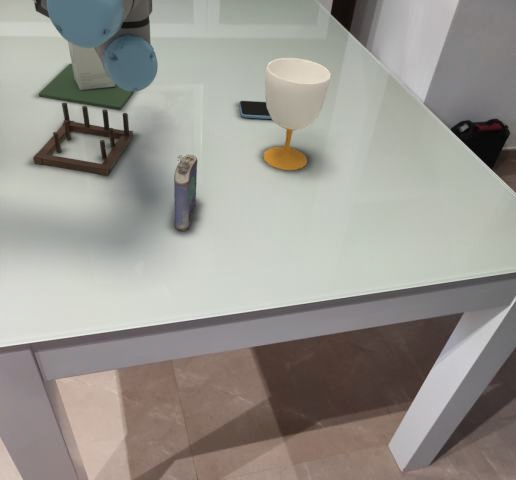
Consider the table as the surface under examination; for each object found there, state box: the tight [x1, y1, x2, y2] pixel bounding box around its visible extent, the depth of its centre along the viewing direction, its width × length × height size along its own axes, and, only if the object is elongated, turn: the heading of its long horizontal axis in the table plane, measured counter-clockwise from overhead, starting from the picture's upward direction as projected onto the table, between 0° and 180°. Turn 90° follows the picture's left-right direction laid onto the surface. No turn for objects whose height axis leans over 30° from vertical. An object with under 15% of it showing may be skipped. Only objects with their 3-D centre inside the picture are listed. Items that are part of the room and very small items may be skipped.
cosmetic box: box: [67, 41, 115, 90], centre depth 111 cm, size 8×6×15 cm
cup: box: [262, 57, 332, 171], centre depth 98 cm, size 12×12×17 cm
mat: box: [38, 63, 135, 111], centre depth 116 cm, size 18×18×1 cm
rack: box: [32, 102, 134, 177], centre depth 97 cm, size 16×14×5 cm
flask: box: [173, 154, 198, 232], centre depth 84 cm, size 9×3×11 cm, turn 174°
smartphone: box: [238, 100, 272, 120], centre depth 117 cm, size 7×1×15 cm
